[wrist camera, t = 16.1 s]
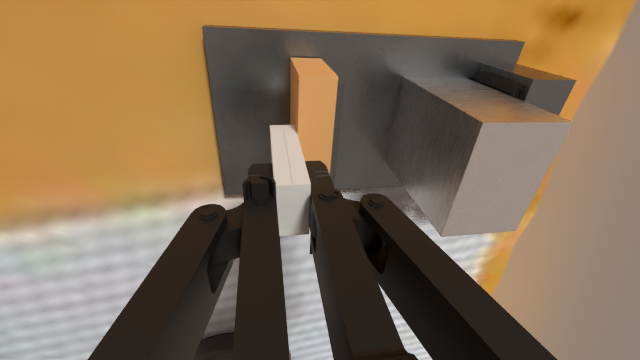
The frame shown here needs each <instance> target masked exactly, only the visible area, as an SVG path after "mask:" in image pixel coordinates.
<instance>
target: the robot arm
mask: <svg viewBox="0 0 640 360" xmlns="http://www.w3.org/2000/svg"><path fill="white" fill-rule="evenodd" d="M270 139H271V162H272V163H263V164H252V165H251V166H250V168H249V169H248V178H247V179H245V180H244V181H243V184H242V187H243V196H244V203H242V204H241V205H240V206H238V207H236V208H233V209H230V210H225V208H224V207H222V206H221V205H217V204H207V205H204V206H201V207H199V208H197V209H195V210H194V211H193V212H192V213H191V214H190V216H189V217H188V219H187V220H186V221H185V223H184V224H183V226H182V227H181V228H180V230H179V231H178V233H177V234H176V236H175V237H174V238H173V240H172V241H171V243H170V244H169V245H168V247H167V248H166V250H165V251H164V252H163V254H162V255H161V257H160V258H159V260H158V261H157V262H156V264H155V265H154V267H153V268H152V269H151V271H150V272H149V274H148V275H147V277H146V278H145V279H144V281H143V282H142V284H141V285H140V286H139V288H138V289H137V291H136V292H135V293H134V295H133V296H132V298H131V299H130V301H129V302H128V303H127V305H126V306H125V308H124V309H123V310H122V312H121V313H120V315H119V316H118V317H117V319H116V320H115V322H114V323H113V325H112V326H111V327H110V329H109V330H108V332H107V333H106V334H105V336H104V337H103V339H102V340H101V342H100V343H99V344H98V346H97V347H96V349H95V350H94V351H93V353H92V354H91V356H90V357H89V358H88V360H291V354H290V351H289V345H288V333H287V321H286V309H285V297H284V285H283V273H282V261H281V249H280V237H279V236H290V235H302V234H309V227H310V232H311V238H310V254H312V253H313V258H314V263H315V268H316V273H317V278H318V283H319V288H320V293H321V298H322V303H323V308H324V313H325V318H326V323H327V328H328V333H329V338H330V343H331V348H332V353H333V358H334V360H418V359H417V358H416V356H415V355H414V354H411V353H408V352H407V351H406V350H405V348H404V346H403V344H402V342H401V339H400V337H399V334H398V332H397V329H396V327H395V324H394V322H393V319H392V317H391V315H390V312H389V310H388V307H387V305H386V302H385V300H384V297H383V295H382V292H381V290H380V287H379V285H380V286H381V288H382V289H383V290H384V292H385V293H386V295H387V296H388V297H389V299H390V300H391V302H392V303H393V304H394V306H395V307H396V309H397V310H398V311H399V313H400V314H401V316H402V317H403V319H404V320H405V321H406V323H407V324H408V326H409V327H410V328H411V330H412V331H413V333H414V334H415V335H416V337H417V338H418V340H419V341H420V342H421V344H422V345H423V347H424V348H425V349H426V351H427V352H428V354H429V355H430V356H431V358H432V359H433V360H557V359H556V358H555V357H554V356H553V355H552V354H551V353H550V352H549V351H548V350H547V349H546V348H544V347H543V346H542V345H541V344H540V343H539V342H538V341H537V340H536V339H535V338H534V337H533V336H532V335H531V334H530V333H529V332H528V331H527V330H526V329H525V328H523V327H522V326H521V325H520V324H519V323H518V322H517V321H516V320H515V319H514V318H513V317H512V316H511V315H510V314H509V313H508V312H507V311H506V310H505V309H504V308H502V306H500V305H499V304H498V303H497V302H496V301H495V300H494V299H493V298H492V297H491V296H490V295H489V294H488V293H487V292H486V291H485V290H484V289H483V288H482V287H481V286H480V285H478V284H477V283H476V282H475V281H474V280H473V279H472V278H471V277H470V276H469V275H468V274H467V273H466V272H465V271H464V270H463V269H462V268H461V267H460V266H459V265H457V264H456V263H455V262H454V261H453V260H452V259H451V258H450V257H449V256H448V255H447V254H446V253H445V252H444V251H443V250H442V249H441V248H440V247H439V246H438V245H437V244H435V243H434V242H433V241H432V240H431V239H430V238H429V237H428V236H427V235H426V234H425V233H424V232H423V231H422V230H421V229H420V228H419V227H418V226H417V225H416V224H415V223H413V222H412V221H411V220H410V219H409V218H408V217H407V216H406V215H405V214H404V213H403V212H402V211H401V210H400V209H399V208H398V207H397V206H396V205H395V204H394V203H393V202H391V201H390V200H389V199H388V198H387V197H385V196H383V195H380V194H374V193H373V194H366V195H364V196H363V197H362V198H361V202H359V201H352V200H348V199H345V198H343V196H342V194H341V193H340V191H338V190H336V189H335V188H334V185H333V182H332V180H331V177H330V174H329V172H328V169H327V167H326V165H325V164H324V163H323V162H321V161H305V160H304V156H303V153H302V149H301V145H300V141H299V138H298V134H297V130H296V126H295V125H270ZM238 257H240V263H239V276H238V290H237V304H236V317H235V331H234V333H232V334H224V335H219V336H214V337H210V338H207V339H204V340H201V339H202V336H203V334H204V331H205V329H206V327H207V324H208V322H209V319H210V317H211V315H212V312H213V310H214V307H215V305H216V303H217V300H218V298H219V295H220V293H221V291H222V288H223V286H224V283H225V281H226V279H227V276H228V274H229V271H230V269H231V267H232V264H233V259H235V258H238ZM378 283H379V285H378Z"/></svg>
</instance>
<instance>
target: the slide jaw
mask: <svg viewBox="0 0 640 360" xmlns="http://www.w3.org/2000/svg"><path fill="white" fill-rule="evenodd" d="M344 85H345V84H344V83H343V82H342V81H341V80H340V79H339V78H338V76H337V75H336V73H335V72H334V71H333V70H332V69H331V68H330V67H329V66H328V65H327V64H326V63H325V62H324V61H323V60H322V59H321V58H291V57H290V125H295V126H296V130H297V134H298V138H299V141H300V145H301V149H302V153H303V156H304V160H305V161H321V162H323V163H324V164H325V165H326V167H327V169H328V172H329V174H330V177H331V180H332V182H333V185H335V175H336V165H337V155H338V145H339V135H340V125H341V115H342V105H343V95H344Z"/></svg>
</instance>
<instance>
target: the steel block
mask: <svg viewBox="0 0 640 360" xmlns="http://www.w3.org/2000/svg"><path fill="white" fill-rule="evenodd" d="M573 123H574V122H573V121H570V120H568V119H565V118H563V117H560V116H558V115H556V114H553V113H551V112H548V111H546V110H543V109H541V108H538V107H536V106H534V105H531V104H529V103H526V102H524V101H521V100H519V99H516V98H514V97H511V96H509V95H507V94H504V93H502V92H499V91H497V90H494V89H492V88H489V87H487V86H485V85H482V84H480V83H477V82H475V81H472V80H470V79H467V78H440V77H403V81H402V86H401V91H400V96H399V101H398V106H397V111H396V116H395V121H394V126H393V131H392V136H391V141H390V146H389V151H388V156H387V161H386V164H387V165H388V166H389V168H390V169H391V170H392V172H393V173H394V174H395V176H396V177H397V178H398V180H399V181H400V182H401V184H402V185H403V186H404V188H405V189H406V190H407V192H408V193H409V194H410V196H411V197H412V198H413V200H414V201H415V202H416V204H417V205H418V207H419V208H420V209H421V211H422V212H423V213H424V215H425V216H426V217H427V219H428V220H429V221H430V223H431V224H432V225H433V227H434V228H435V229H436V231H437V232H438V233H439V235H440V236H441V237H446V236H458V235H470V234H483V233H495V232H507V231H516V229H517V227H518V225H519V223H520V222H521V220H522V218H523V216H524V214H525V212H526V210H527V209H528V207H529V205H530V203H531V201H532V199H533V197H534V196H535V194H536V192H537V190H538V188H539V186H540V184H541V183H542V181H543V179H544V177H545V175H546V173H547V171H548V170H549V168H550V166H551V164H552V162H553V160H554V158H555V157H556V155H557V153H558V151H559V149H560V147H561V145H562V144H563V142H564V140H565V138H566V136H567V134H568V132H569V131H570V129H571V127H572V125H573Z"/></svg>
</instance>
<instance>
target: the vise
mask: <svg viewBox="0 0 640 360" xmlns="http://www.w3.org/2000/svg"><path fill="white" fill-rule="evenodd" d="M202 29H203V36H204V43H205V51H206V58H207V65H208V73H209V80H210V87H211V95H212V102H213V110H214V117H215V124H216V132H217V139H218V146H219V154H220V161H221V168H222V176H223V183H224V190H225V194H243V187H242V184H243V181H244V180H245V179H247V178H248V169H249V168H250V166H251V165H252V164H263V163H272V162H271V139H270V125H290V57H291V58H321V59H322V60H323V61H324V62H325V63H326V64H327V65H328V66H329V67H330V68H331V69H332V70H333V71H334V72H335V73H336V75H337V76H338V78H339V79H340V80H341V81H342V82H343V83H344V84H345V85H344V95H343V105H342V115H341V125H340V135H339V145H338V155H337V165H336V175H335V185H334V188H335V189H350V188H371V187H392V186H403V185H402V184H401V182H400V181H399V180H398V178H397V177H396V176H395V174H394V173H393V172H392V170H391V169H390V168H389V166H388V165H387V164H386V161H387V156H388V151H389V146H390V141H391V136H392V131H393V126H394V121H395V116H396V111H397V106H398V101H399V96H400V91H401V86H402V81H403V77H440V78H467V79H470V80H472V81H475V82H477V83H480V84H482V85H485V86H487V87H489V88H492V89H494V90H497V91H499V92H502V93H504V94H507V95H509V96H511V97H514V98H516V99H519V100H521V101H524V102H526V103H529V104H531V105H534V106H536V107H538V108H541V109H543V110H546V111H548V112H551V113H553V114H556V115H558V116H559V114H560V112H561V110H562V108H563V106H564V104H565V102H566V100H567V98H568V96H569V94H570V92H571V90H572V88H573V86H574V84H575V82H576V80H573V79H569V78H566V77H562V76H558V75H555V74H551V73H547V72H544V71H540V70H536V69H533V68H529V67H525V66H522V65H518V64H516V63H517V61H518V58H519V55H520V53H521V50H522V48H523V45H524V43H525V42H522V41H517V40H502V39H481V38H461V37H440V36H420V35H399V34H379V33H358V32H338V31H317V30H297V29H276V28H256V27H235V26H215V25H204V26H202Z"/></svg>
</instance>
